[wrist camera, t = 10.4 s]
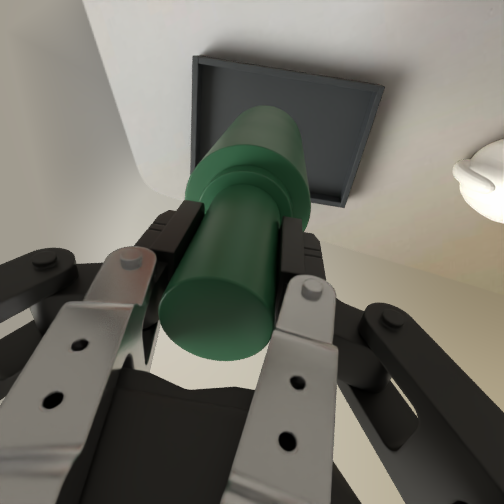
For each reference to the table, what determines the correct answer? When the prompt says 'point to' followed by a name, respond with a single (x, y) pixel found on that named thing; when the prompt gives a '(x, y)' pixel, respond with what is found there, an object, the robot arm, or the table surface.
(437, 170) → the table surface
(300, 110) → the tray
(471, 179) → the cat figurine
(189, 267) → the bottle
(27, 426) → the robot arm
